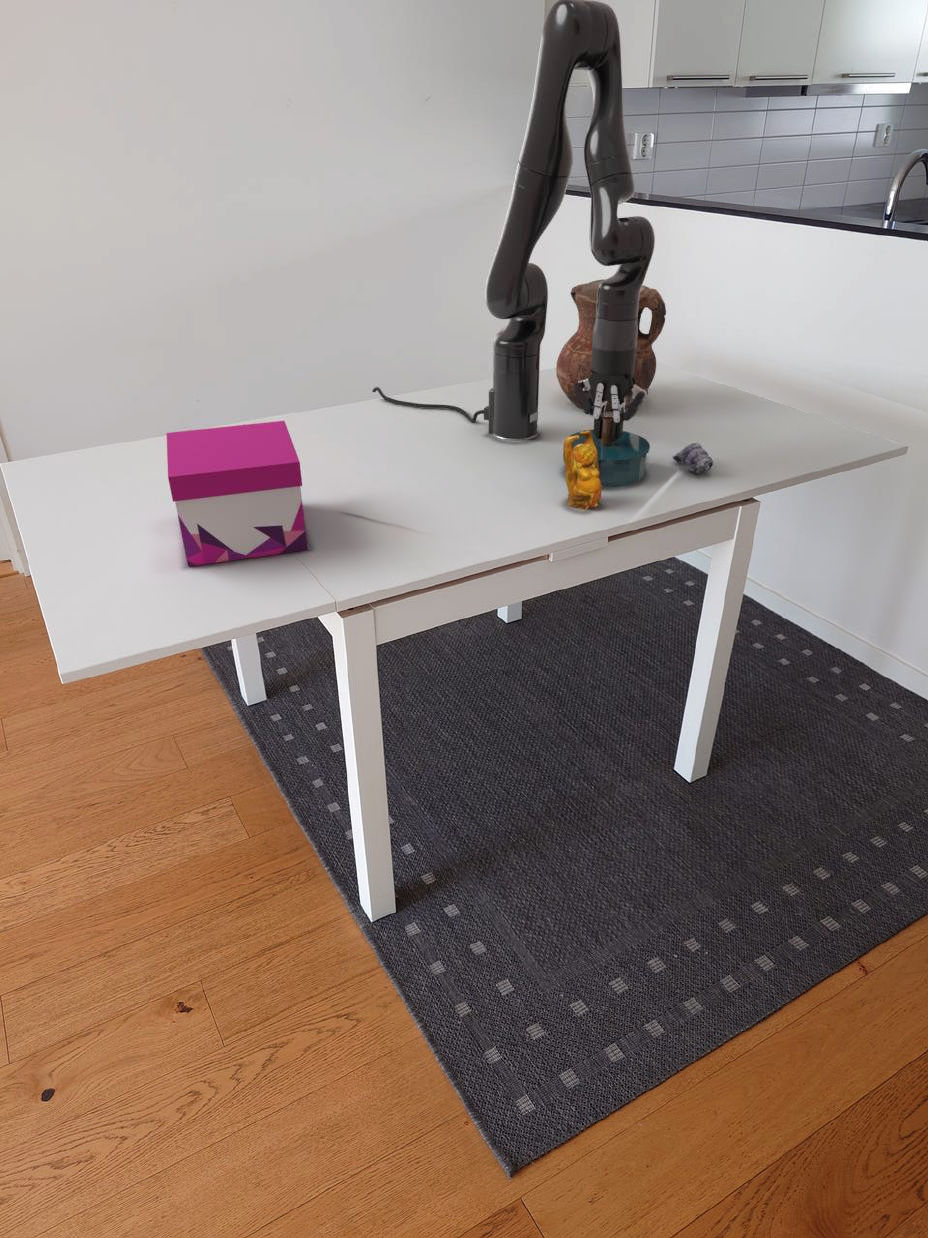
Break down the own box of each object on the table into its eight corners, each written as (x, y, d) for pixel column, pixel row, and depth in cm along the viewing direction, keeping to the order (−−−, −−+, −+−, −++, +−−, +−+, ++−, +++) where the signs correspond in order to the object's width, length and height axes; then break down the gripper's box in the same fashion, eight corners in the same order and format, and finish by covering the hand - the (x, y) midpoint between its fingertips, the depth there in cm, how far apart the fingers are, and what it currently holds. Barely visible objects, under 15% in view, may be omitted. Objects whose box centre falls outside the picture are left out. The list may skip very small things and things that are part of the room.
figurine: (591, 516, 150) (596, 443, 144) (558, 506, 154) (562, 435, 147) (609, 503, 155) (616, 433, 148) (577, 494, 158) (582, 425, 151)
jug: (558, 418, 192) (565, 298, 178) (550, 388, 209) (555, 277, 196) (661, 417, 192) (675, 297, 178) (643, 387, 209) (655, 276, 196)
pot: (545, 484, 162) (546, 456, 159) (589, 449, 176) (591, 423, 173) (620, 501, 155) (623, 472, 153) (659, 463, 170) (662, 436, 167)
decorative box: (309, 550, 141) (299, 461, 133) (186, 568, 136) (168, 477, 128) (294, 502, 156) (284, 420, 148) (182, 516, 152) (166, 432, 144)
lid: (549, 455, 161) (551, 424, 158) (584, 429, 172) (586, 399, 169) (631, 471, 154) (634, 439, 151) (661, 443, 166) (664, 412, 163)
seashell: (676, 466, 172) (704, 487, 164) (664, 447, 169) (692, 468, 161) (698, 447, 171) (727, 467, 163) (686, 428, 168) (715, 448, 160)
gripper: (660, 342, 153) (650, 438, 162) (586, 333, 159) (580, 426, 168) (645, 353, 147) (636, 452, 157) (568, 343, 153) (563, 438, 163)
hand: (607, 438), depth 162 cm, fingers closed on lid, 2 cm apart
